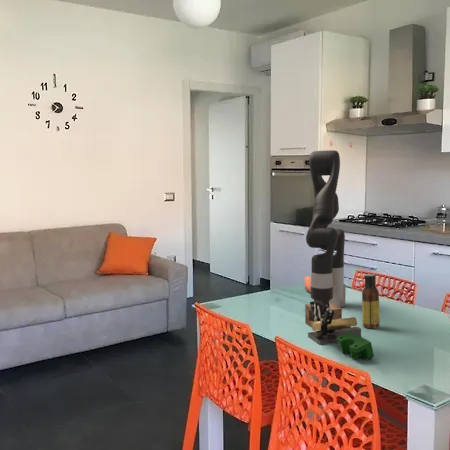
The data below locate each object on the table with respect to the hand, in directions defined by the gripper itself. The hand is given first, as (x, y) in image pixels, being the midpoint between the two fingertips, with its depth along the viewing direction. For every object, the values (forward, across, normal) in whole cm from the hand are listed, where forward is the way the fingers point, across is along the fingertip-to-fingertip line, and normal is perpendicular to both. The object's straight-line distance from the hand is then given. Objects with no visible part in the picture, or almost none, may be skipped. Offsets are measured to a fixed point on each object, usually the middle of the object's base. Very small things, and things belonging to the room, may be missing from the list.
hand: (321, 333), depth 181 cm
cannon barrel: (-1, 0, -5) cm, 5 cm away
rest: (+2, 0, -5) cm, 6 cm away
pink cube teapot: (+2, +63, -29) cm, 70 cm away
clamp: (+3, -16, -3) cm, 17 cm away
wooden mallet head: (+2, +14, -8) cm, 16 cm away
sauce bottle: (+3, +7, -24) cm, 25 cm away
